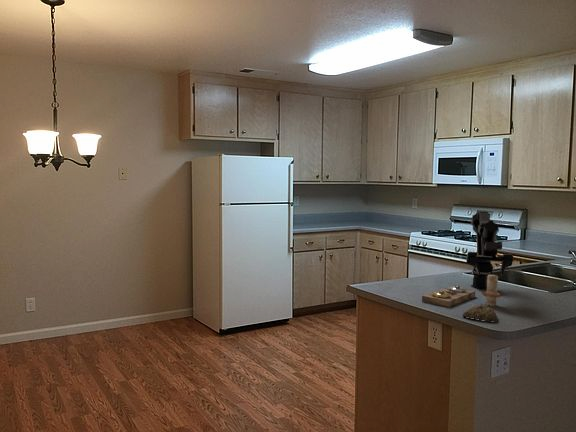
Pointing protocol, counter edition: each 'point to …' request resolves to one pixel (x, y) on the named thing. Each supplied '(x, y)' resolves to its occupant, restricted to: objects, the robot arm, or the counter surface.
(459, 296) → the gear board
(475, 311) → the bread roll
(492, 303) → the idler gear
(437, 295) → the gear
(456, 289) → the gear
